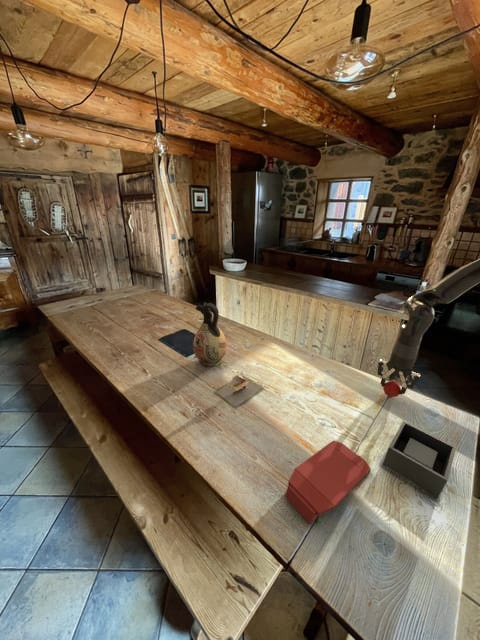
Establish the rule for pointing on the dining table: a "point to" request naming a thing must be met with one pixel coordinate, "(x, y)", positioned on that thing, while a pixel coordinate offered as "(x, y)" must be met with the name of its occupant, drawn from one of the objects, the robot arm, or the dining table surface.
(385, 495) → the dining table surface
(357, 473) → the carton
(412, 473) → the crate
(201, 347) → the ceramic jug
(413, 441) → the block
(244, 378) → the architectural model
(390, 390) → the onion
